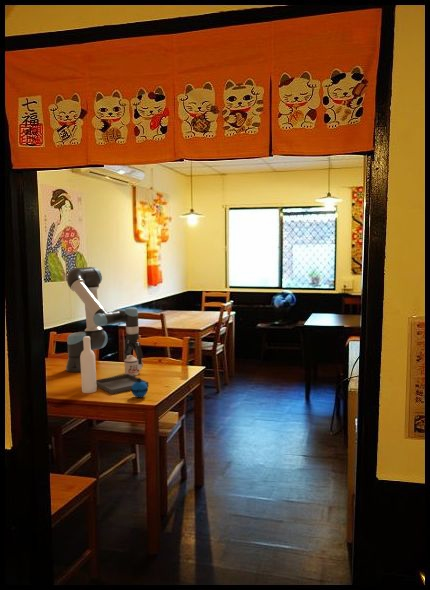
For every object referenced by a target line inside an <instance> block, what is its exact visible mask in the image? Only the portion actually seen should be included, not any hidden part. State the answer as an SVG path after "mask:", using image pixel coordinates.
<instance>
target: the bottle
mask: <svg viewBox="0 0 430 590" xmlns="http://www.w3.org/2000/svg"><path fill="white" fill-rule="evenodd" d="M83 344H84V350H83V351H82V352H81V355H80V363H81V372H80V376H81V377H80V378H81V392H82V393H84V394H92V393H95V392H97V390H98V389H97V388H98V387H97V384H96V380H97V371H96V370H97V369H96V367H97V366H96V354H95V352H94V350H91V345H90V337H89V336H85V337H83Z"/></svg>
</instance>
